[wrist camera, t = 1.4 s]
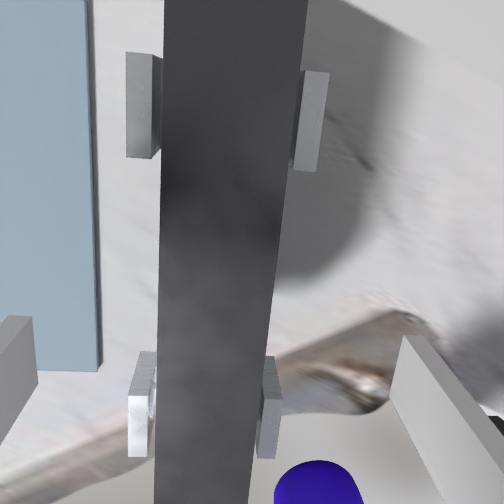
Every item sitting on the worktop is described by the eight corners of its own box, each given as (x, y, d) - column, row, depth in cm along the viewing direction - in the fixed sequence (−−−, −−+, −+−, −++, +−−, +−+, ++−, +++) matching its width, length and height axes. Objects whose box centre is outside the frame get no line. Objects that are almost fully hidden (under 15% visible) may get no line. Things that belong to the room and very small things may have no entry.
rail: (238, 445, 28) (243, 535, 22) (165, 444, 28) (153, 535, 22) (282, 21, 20) (308, -3, 14) (179, 10, 19) (165, -20, 14)
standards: (156, 343, 35) (128, 463, 24) (162, 55, 28) (125, 37, 17) (256, 347, 36) (274, 465, 25) (287, 68, 29) (332, 59, 18)
